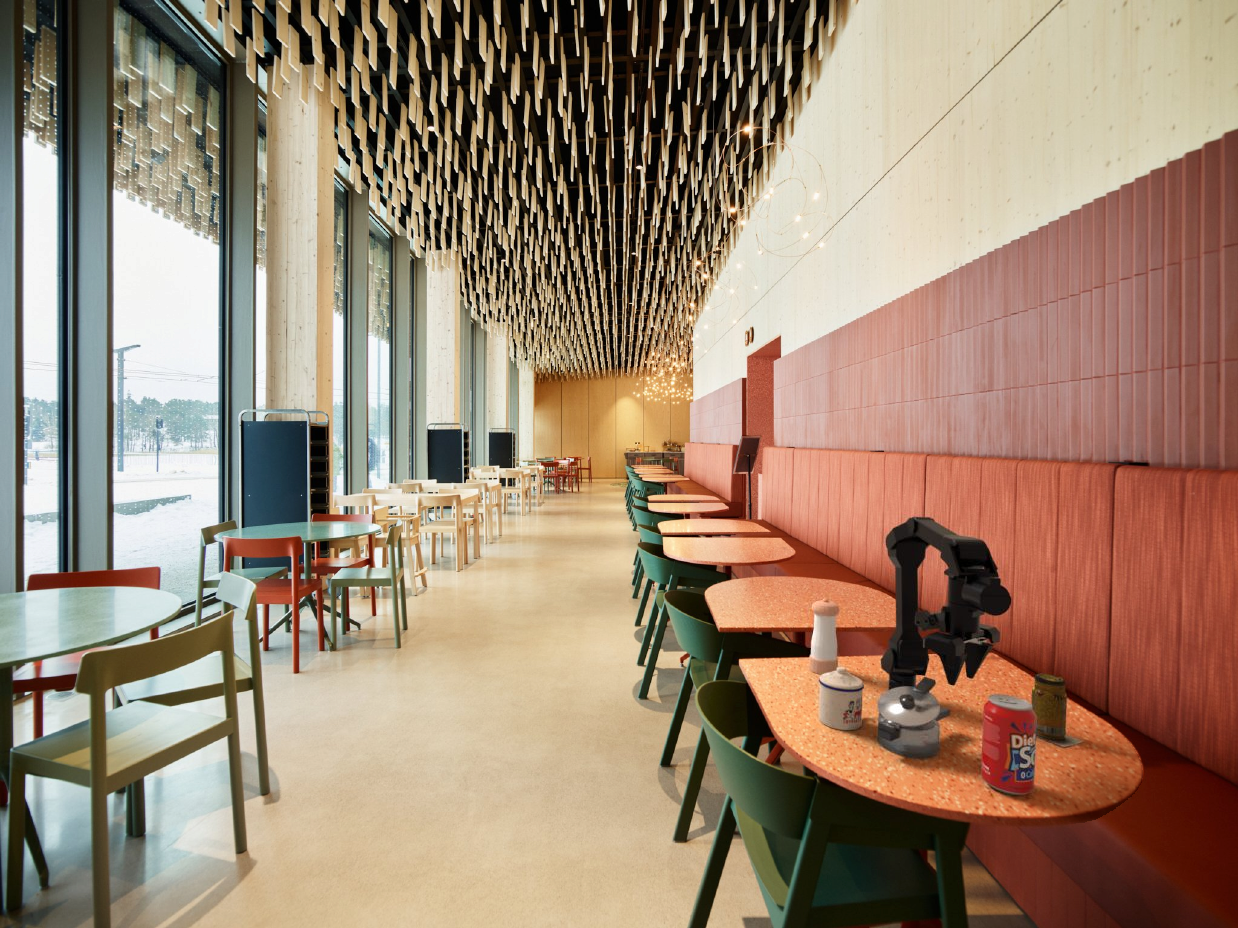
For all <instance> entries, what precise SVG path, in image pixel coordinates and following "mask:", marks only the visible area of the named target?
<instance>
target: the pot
mask: <svg viewBox="0 0 1238 928" xmlns="http://www.w3.org/2000/svg"><path fill="white" fill-rule="evenodd" d="M939 706H940V713H939V715H938V717H937V718H936V719H935V720H934V721H932V722H931V723H929V724H927V725H924V726H920V727H900V729H897V727H896V726H893V725H891V724H888V723H886V722H883V720H884V718H883V717H882V716H881V715H880V713H879V712H878V723H877V724H878V725H877V742H878V743H879V745H880V746H881V747H882V748H884V749H885V750H887V751H889V752H891V753H893V754H895V755H899V756H902V757H905V758H911V759H919V760H920V759H921V760H925V759H932V758H935V757H937V756H938V755H939V753H940V740H941V739H940V735H941V725H940V723H939V721H941V720H943V719H945V718H948V717H950V715H951V708H949V707H945V706H942V705H940V704H939Z"/></svg>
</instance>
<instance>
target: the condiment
mask: <svg viewBox="0 0 1238 928" xmlns="http://www.w3.org/2000/svg"><path fill="white" fill-rule="evenodd" d="M1033 683H1034V685H1033V687H1031V699H1030V700H1031V701H1030V703H1031V704H1032V709H1033V711H1034V712H1035V714H1036V716H1037V728H1036V738H1038V739H1041V740H1045V741H1046V742H1049V743H1051V744H1055V745H1058V746H1060V747H1062V748H1067V747H1070V746H1071V747H1072V746H1074V745H1075V746H1076V745H1078V744H1080V743H1083V742H1085V741H1084V740H1082V739H1080V738H1076V737H1075V736H1071V735H1070V734H1066V733H1067V732H1066V731H1067V729H1066V727H1067V704H1068V703H1067V702H1068V701H1067V699H1068V695H1067V693H1066V687H1065V686H1066V681H1065V680H1064V678H1062V677H1059V676H1056V675H1052V674H1048V673H1036V674H1035V676H1034V682H1033Z"/></svg>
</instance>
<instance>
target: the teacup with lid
mask: <svg viewBox="0 0 1238 928" xmlns="http://www.w3.org/2000/svg"><path fill="white" fill-rule="evenodd" d="M847 670H848V669H847V668H846V667H844V666H838V667H837V671H832V672H829V673H824V674H820V675H819V678H818V683H819V696H818V720H819V721H820V722H821V724H823V725H825V726H826V727H829V728H832V729H835V730H838V731H839V730H840V731H855V730H858V729H860V727H862V717H863V693H864V692H863V689H864V688H865V685H864V682H863V681H862V679H861V678H859V677H857V676H855V675H853V674H851V673H850V672H847Z"/></svg>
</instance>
